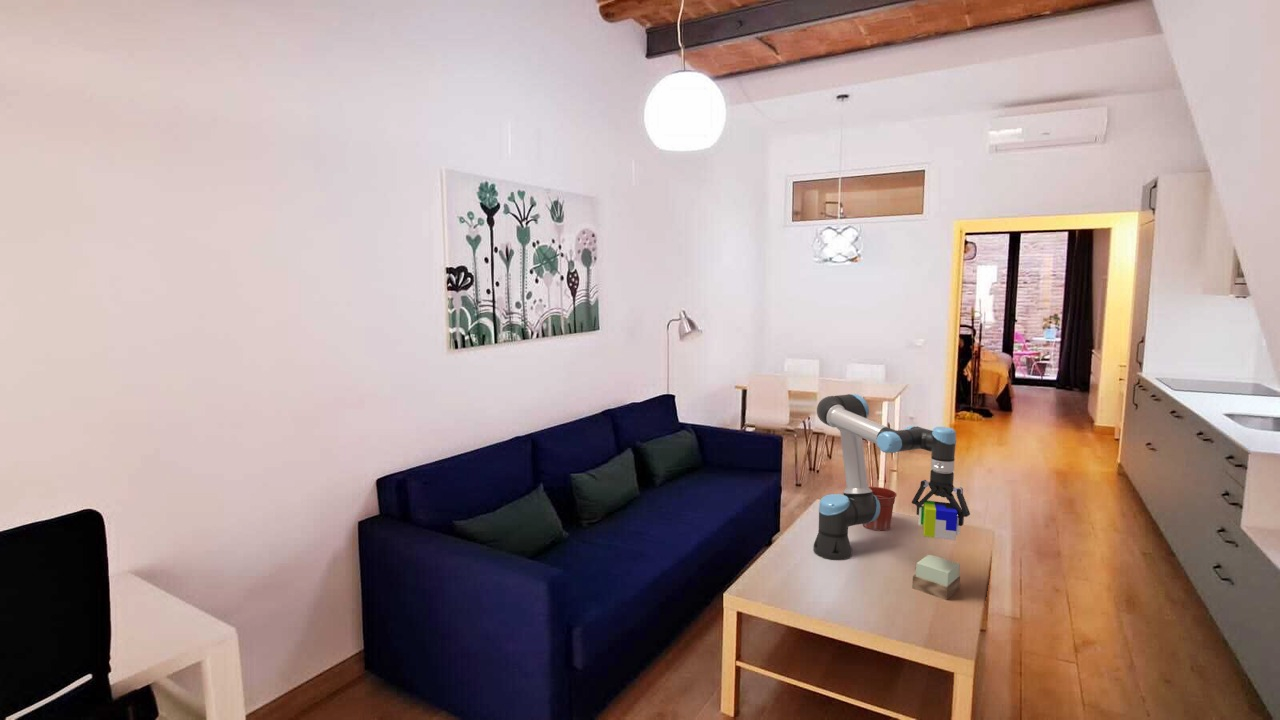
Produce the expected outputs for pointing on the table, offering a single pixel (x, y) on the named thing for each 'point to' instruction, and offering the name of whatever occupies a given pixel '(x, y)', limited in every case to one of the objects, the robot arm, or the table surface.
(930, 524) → the puzzle toy
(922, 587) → the bottom slab
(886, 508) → the flower pot
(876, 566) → the table surface
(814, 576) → the table surface
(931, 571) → the top slab
